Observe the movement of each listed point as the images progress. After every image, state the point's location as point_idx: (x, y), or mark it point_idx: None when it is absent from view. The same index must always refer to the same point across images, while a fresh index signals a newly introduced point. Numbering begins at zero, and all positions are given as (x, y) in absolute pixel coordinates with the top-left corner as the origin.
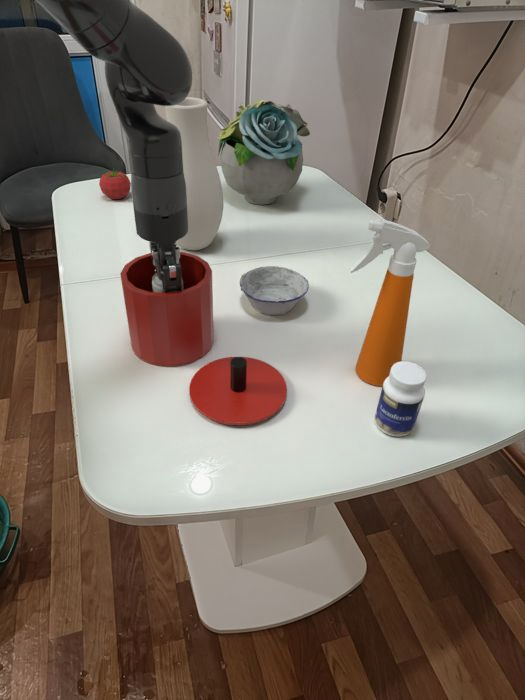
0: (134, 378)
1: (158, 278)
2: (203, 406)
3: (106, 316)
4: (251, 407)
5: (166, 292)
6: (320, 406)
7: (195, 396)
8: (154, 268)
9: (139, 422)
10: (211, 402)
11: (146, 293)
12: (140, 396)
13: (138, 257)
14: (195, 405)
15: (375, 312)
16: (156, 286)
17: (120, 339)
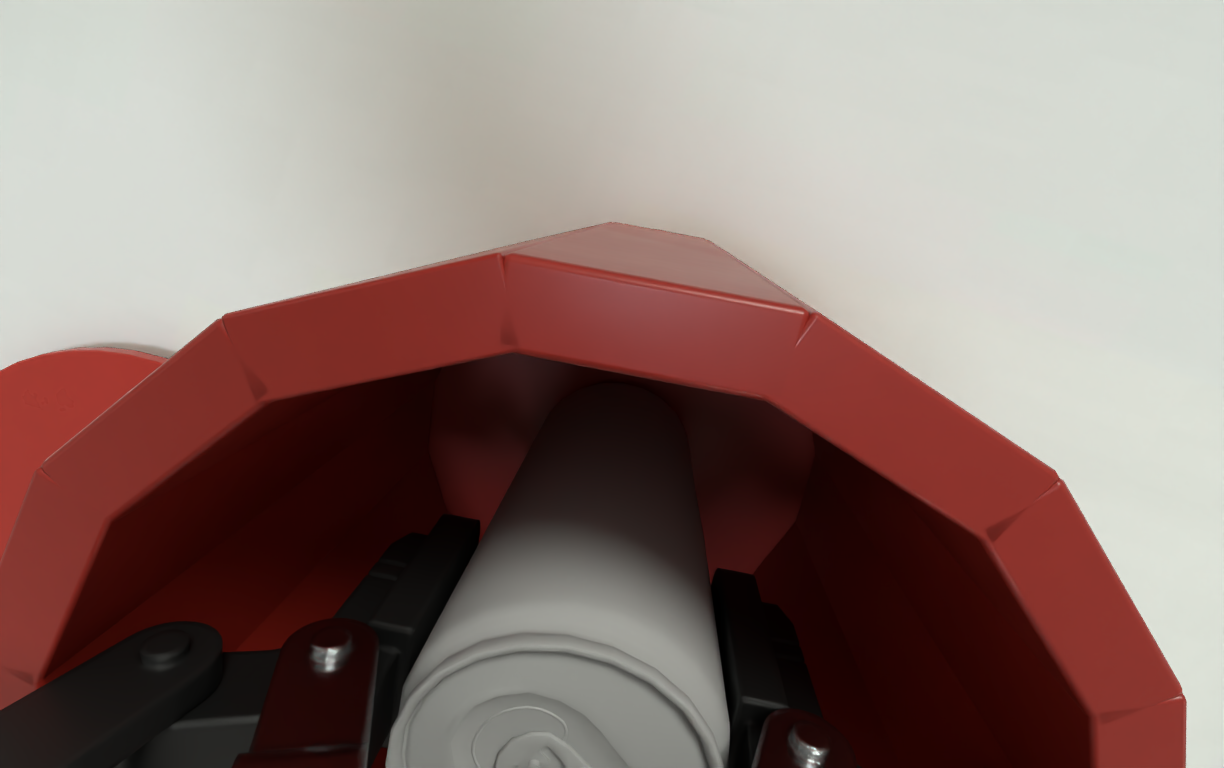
0: (401, 158)
1: (244, 758)
2: (50, 380)
3: (1057, 182)
4: (4, 548)
5: (61, 686)
6: None
7: (122, 375)
8: (982, 723)
9: (84, 78)
10: (67, 421)
11: (77, 471)
12: (258, 143)
13: (1162, 726)
14: (64, 351)
15: None
16: (487, 620)
17: (769, 192)
